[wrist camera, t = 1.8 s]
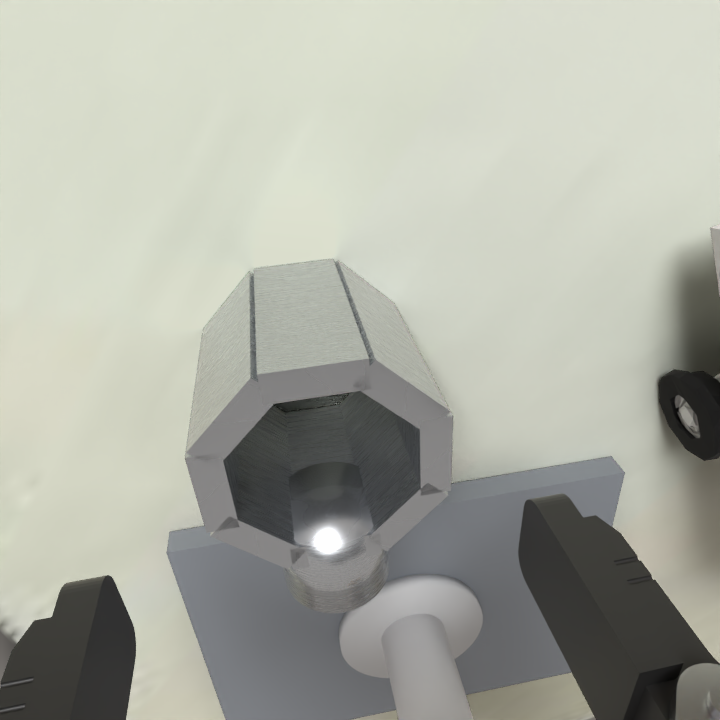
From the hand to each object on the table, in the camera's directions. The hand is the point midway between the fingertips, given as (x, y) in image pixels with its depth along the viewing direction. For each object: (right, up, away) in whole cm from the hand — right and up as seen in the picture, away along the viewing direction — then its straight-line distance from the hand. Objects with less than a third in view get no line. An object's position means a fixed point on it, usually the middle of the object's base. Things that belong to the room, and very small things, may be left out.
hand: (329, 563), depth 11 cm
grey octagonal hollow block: (-1, +4, +8) cm, 9 cm away
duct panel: (+3, -7, +15) cm, 17 cm away
